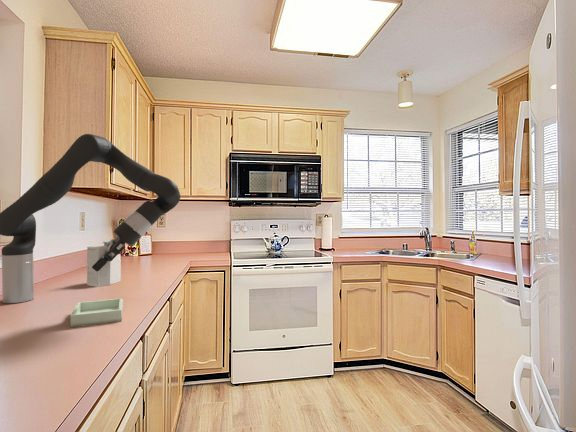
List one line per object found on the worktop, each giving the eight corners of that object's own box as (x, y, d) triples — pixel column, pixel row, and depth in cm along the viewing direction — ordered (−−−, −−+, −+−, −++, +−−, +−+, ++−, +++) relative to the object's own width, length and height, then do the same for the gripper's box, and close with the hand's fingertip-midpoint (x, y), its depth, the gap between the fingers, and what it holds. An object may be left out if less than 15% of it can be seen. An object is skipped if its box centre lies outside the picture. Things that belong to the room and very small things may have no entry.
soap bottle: (121, 281, 165) (120, 240, 165) (110, 285, 156) (109, 242, 156) (104, 281, 166) (103, 240, 166) (92, 284, 157) (91, 242, 157)
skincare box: (86, 285, 108) (85, 246, 108) (100, 282, 112) (99, 245, 112) (98, 287, 105) (97, 247, 105) (111, 284, 109) (111, 245, 109)
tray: (78, 312, 113) (78, 302, 113) (122, 307, 119) (122, 298, 119) (70, 327, 99) (70, 315, 99) (121, 321, 104) (121, 310, 104)
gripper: (120, 220, 118) (81, 257, 112) (128, 221, 107) (84, 263, 100) (137, 235, 121) (100, 272, 115) (146, 237, 110) (105, 279, 103)
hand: (93, 267), depth 108 cm, fingers closed on skincare box, 7 cm apart
